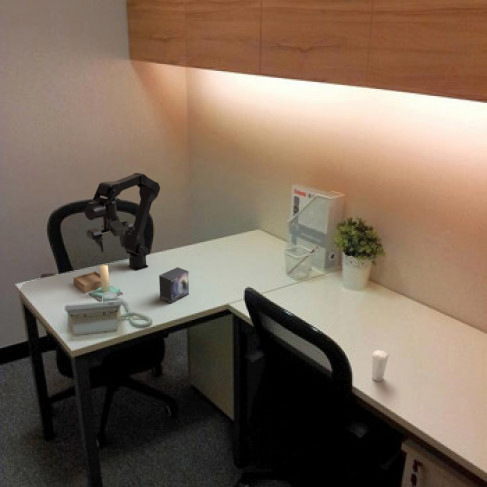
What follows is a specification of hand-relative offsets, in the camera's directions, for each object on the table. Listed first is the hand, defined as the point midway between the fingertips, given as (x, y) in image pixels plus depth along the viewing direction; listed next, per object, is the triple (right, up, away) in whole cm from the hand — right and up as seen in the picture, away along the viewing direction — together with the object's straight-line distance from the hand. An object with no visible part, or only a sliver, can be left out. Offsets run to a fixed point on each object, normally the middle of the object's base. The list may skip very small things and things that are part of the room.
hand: (112, 249), depth 225 cm
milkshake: (+95, -39, -61) cm, 119 cm away
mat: (0, -17, -9) cm, 20 cm away
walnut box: (-8, -15, -2) cm, 17 cm away
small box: (+27, -19, -11) cm, 35 cm away
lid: (0, -17, -9) cm, 19 cm away
